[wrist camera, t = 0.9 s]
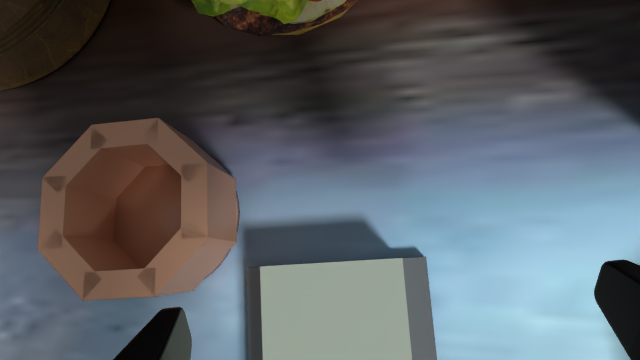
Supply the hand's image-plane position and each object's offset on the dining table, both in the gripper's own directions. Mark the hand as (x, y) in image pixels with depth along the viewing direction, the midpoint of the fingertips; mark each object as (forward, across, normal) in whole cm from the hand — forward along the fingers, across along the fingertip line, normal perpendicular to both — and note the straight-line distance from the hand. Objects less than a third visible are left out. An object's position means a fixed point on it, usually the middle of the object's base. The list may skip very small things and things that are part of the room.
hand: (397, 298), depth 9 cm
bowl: (+14, +9, +6) cm, 18 cm away
